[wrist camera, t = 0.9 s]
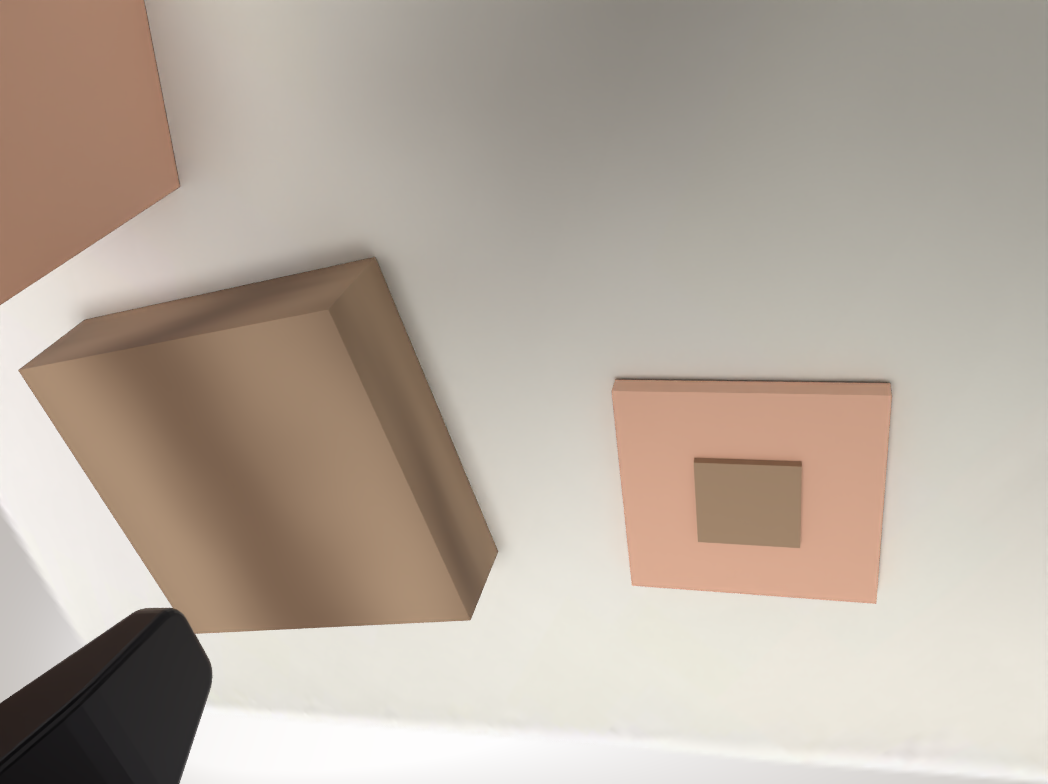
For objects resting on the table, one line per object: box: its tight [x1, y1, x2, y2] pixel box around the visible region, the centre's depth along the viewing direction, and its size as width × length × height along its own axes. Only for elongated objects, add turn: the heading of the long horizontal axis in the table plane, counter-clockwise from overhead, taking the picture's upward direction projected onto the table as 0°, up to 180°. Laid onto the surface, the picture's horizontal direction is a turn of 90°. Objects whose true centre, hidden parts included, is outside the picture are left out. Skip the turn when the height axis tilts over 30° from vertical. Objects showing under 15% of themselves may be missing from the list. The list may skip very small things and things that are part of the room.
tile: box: [612, 380, 892, 604], centre depth 22 cm, size 6×6×1 cm
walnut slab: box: [18, 257, 498, 634], centre depth 25 cm, size 9×9×3 cm
